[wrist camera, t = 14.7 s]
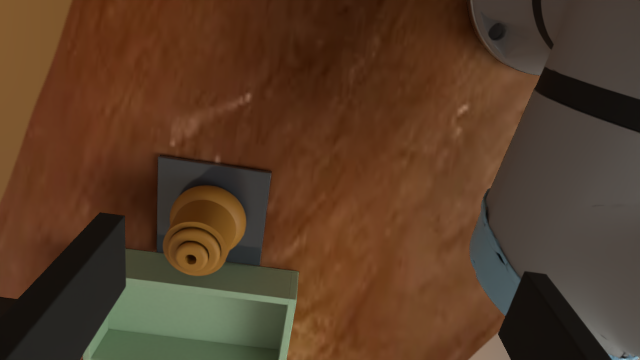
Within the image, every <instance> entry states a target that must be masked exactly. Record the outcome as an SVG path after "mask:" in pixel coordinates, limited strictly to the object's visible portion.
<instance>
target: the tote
mask: <svg viewBox="0 0 640 360" xmlns="http://www.w3.org/2000/svg"><path fill="white" fill-rule="evenodd" d="M125 257H126V287H125V289H124V291H123V292H122V294H121V295H120V297H119V298H118V300H117V302H116V303H115V305H114V306H113V308H112V309H111V311H110V313H109V314H108V316H107V317H106V319H105V321H104V322H103V324H102V325H101V327H100V328H99V330H98V332H97V333H96V335H95V336H94V338H93V340H92V341H91V343H90V344H89V346H88V347H87V349H86V351H85V352H84V354H83V360H286V358H287V353H288V347H289V341H290V335H291V330H292V324H293V318H294V312H295V307H296V301H297V288H298V275H299V272H297V271H290V270H282V269H275V268H267V267H260V266H252V265H245V264H237V263H230V262H224V264H223V265H222V267H221V268H220V269H218V270H217V271H216V272H214V273H211V274H209V275H204V276H193V275H188V274H185V273H183V272H181V271H179V270H177V269H176V268H174V267H173V266H172V265H171V264H170V263H169V262H168V260H167V259H166V257H165V254H162V253H155V252H147V251H140V250H132V249H125Z"/></svg>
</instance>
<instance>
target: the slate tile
mask: <svg viewBox="0 0 640 360" xmlns="http://www.w3.org/2000/svg"><path fill="white" fill-rule="evenodd" d="M271 175H272V172H271V171H265V170H259V169H252V168H245V167H238V166H231V165H225V164H218V163H211V162H204V161H197V160H191V159H184V158H177V157H170V156H164V155H160V156H159V157H158V195H157V252H159V253H164V251H163V241H164V238H165V235H166V233H167V231H168V229H169V227H170V212H171V208H172V206H173V204H174V202H175V201H176V199H177V198H178V197H179V196H180V195H181V194H182V193H183V192H185V191H186V190H188V189H191V188H193V187H196V186H203V185H210V186H216V187H219V188H222V189H224V190H226V191H228V192H230V193H231V194H232V195H234V196H235V197H236V198H237V199H238V201H239V202H240V203H241V205H242V207H243V209H244V212H245V215H246V229H245V232H244V235H243V237H242V239H241V240H240V241H239V243H238V244H237V245H236V246H235V247H233V248H232V249H231V250H229V253H228V255H227V258H226V260H225V261H227V262H234V263H242V264H249V265H257V266H260V261H261V253H262V245H263V237H264V230H265V222H266V214H267V206H268V198H269V190H270V182H271Z"/></svg>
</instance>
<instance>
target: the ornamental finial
mask: <svg viewBox="0 0 640 360" xmlns="http://www.w3.org/2000/svg"><path fill="white" fill-rule="evenodd" d="M245 229H246V215H245V212H244V209H243V207H242V205H241V203H240V202H239V201H238V199H237V198H236V197H235V196H234V195H232V194H231V193H230V192H228V191H226V190H224V189H222V188H219V187H216V186H210V185H203V186H196V187H193V188H191V189H188V190H186V191H185V192H183V193H182V194H181V195H180V196H179V197H178V198H177V199H176V201H175V202H174V204H173V206H172V208H171V212H170V227H169V229H168V231H167V233H166V235H165V238H164V241H163V251H164V254H165V257H166V259H167V260H168V262H169V263H170V264H171V265H172V266H173V267H174V268H176V269H177V270H179V271H181V272H183V273H185V274H188V275H193V276H204V275H209V274H211V273H214V272H216V271H217V270H218V269H220V268H221V267H222V265H223V264H224V262H225V260H226V258H227V255H228V253H229V250H231V249H232V248H233V247H235V246H236V245H237V244H238V243H239V241H240V240H241V239H242V237H243V235H244V232H245Z"/></svg>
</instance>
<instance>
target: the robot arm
mask: <svg viewBox="0 0 640 360" xmlns="http://www.w3.org/2000/svg"><path fill="white" fill-rule="evenodd" d="M467 8H468V14H469V18H470V21H471V24H472V27H473V29H474V31H475V33H476V35H477V37H478V39H479V40H480V42H481V43H482V45H483V46H484V47H485V48H486V50H487V51H488V52H489V53H490V54H491V55H493V56H494V57H495V58H496V59H498V60H499V61H501V62H502V63H504V64H506V65H508V66H510V67H512V68H514V69H517V70H519V71H522V72H525V73H529V74H533V75H541V76H540V78H539V80H538V83H537V85H536V87H535V88H534V90H533V92H532V95H531V97H530V99H529V101H528V104H527V106H526V108H525V111H524V113H523V115H522V118H521V120H520V122H519V124H518V127H517V129H516V131H515V134H514V136H513V138H512V140H511V143H510V145H509V147H508V150H507V152H506V154H505V157H504V159H503V161H502V163H501V166H500V168H499V170H498V173H497V175H496V177H495V179H494V182H493V184H492V186H491V188H489V189H488V190H487V191H486V193H485V195H484V197H483V200H482V204H481V212H480V215H479V218H478V221H477V224H476V227H475V229H474V232H473V234H472V237H471V241H470V259H471V262H472V265H473V267H474V269H475V271H476V277H477V279H478V281H479V283H480V285H481V286H482V288H483V289H484V291H485V292H486V294H487V295H488V297H489V298H490V299H491V300H492V302H493V303H494V304H495V305H496V306H497V308H498V309H499V310H500V311H501V312H502V313H503V314H504V315H505V319H504V321H503V323H502V326H501V328H500V331H499V333H498V335H499V337H500V339H501V341H502V343H503V345H504V347H505V349H506V351H507V353H508V355H509V357H510V359H511V360H637V359H638V358H640V0H467ZM125 287H126V257H125V216H122V215H115V214H108V213H99V214H98V215H97V216H96V217H95V218H94V219H93V220H92V221H91V222H90V223H89V224H88V226H87V227H86V228H85V229H84V230H83V231H82V232H81V233H80V234H79V235H78V236H77V237H76V238H75V239H74V240H73V241H72V242H71V243H70V245H69V246H68V247H67V248H66V249H65V250H64V251H63V252H62V253H61V254H60V255H59V256H58V257H57V258H56V259H55V260H54V261H53V262H52V264H51V265H50V266H49V267H48V268H47V269H46V270H45V271H44V272H43V273H42V274H41V275H40V276H39V277H38V278H37V279H36V280H35V282H34V283H33V284H32V285H31V286H30V287H29V288H28V289H27V290H26V291H25V292H24V293H23V294H22V295H21V296H20V297H19V298H18V299H12V298H4V297H0V360H80V358H81V357H82V355H83V354H84V352H85V351H86V349H87V347H88V346H89V344H90V343H91V341H92V340H93V338H94V336H95V335H96V333H97V332H98V330H99V328H100V327H101V325H102V324H103V322H104V321H105V319H106V317H107V316H108V314H109V313H110V311H111V309H112V308H113V306H114V305H115V303H116V302H117V300H118V298H119V297H120V295H121V294H122V292H123V291H124V289H125Z"/></svg>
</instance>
